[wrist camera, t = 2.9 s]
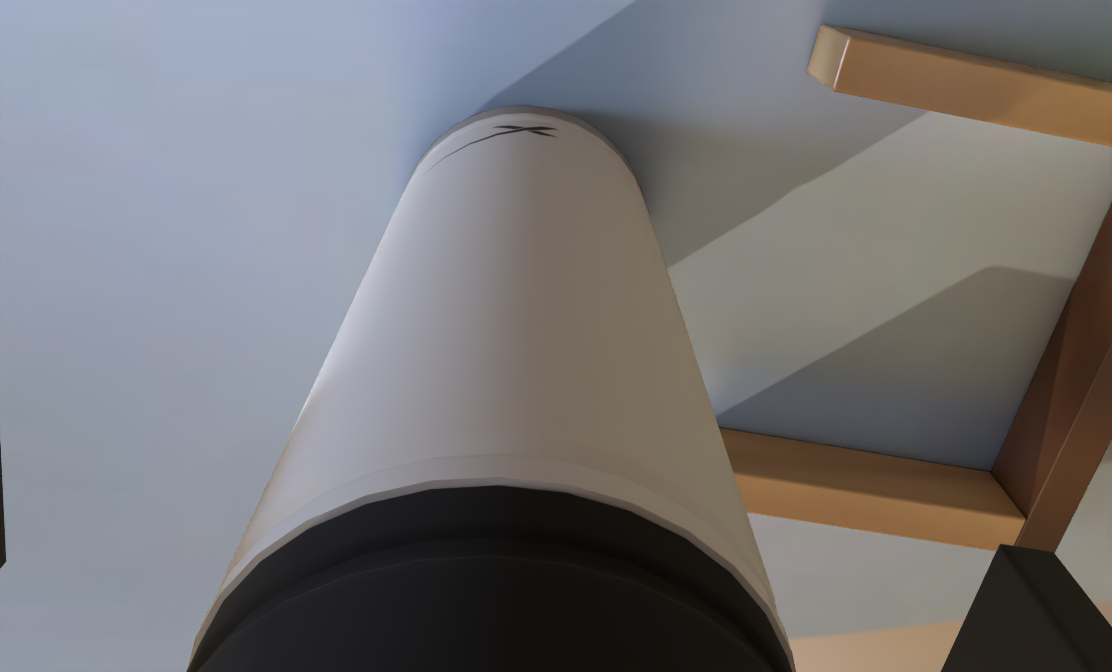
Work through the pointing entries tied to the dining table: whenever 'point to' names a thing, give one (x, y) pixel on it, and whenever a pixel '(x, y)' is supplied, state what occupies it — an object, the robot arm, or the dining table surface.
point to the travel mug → (504, 446)
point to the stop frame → (1059, 383)
